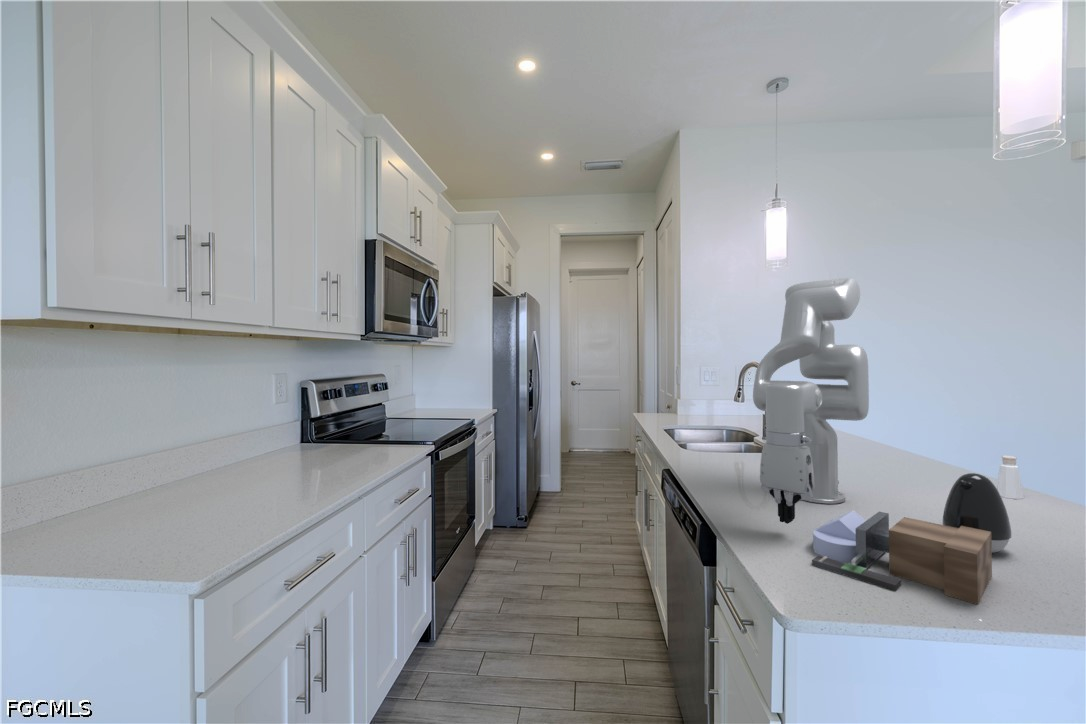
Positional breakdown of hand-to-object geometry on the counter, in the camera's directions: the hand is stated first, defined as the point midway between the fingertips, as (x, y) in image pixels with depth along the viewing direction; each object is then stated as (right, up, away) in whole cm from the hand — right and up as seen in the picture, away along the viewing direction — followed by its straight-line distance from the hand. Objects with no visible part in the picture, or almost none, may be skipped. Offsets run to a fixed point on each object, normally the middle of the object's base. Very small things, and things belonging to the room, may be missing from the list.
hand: (786, 521), depth 102 cm
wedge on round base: (+7, -3, -8) cm, 11 cm away
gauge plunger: (+11, -3, -17) cm, 21 cm away
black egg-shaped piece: (+34, -3, -9) cm, 35 cm away
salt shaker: (+74, -2, +23) cm, 77 cm away
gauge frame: (+11, -3, -18) cm, 21 cm away
